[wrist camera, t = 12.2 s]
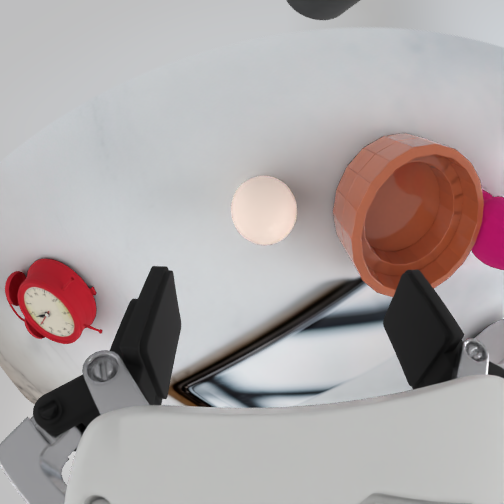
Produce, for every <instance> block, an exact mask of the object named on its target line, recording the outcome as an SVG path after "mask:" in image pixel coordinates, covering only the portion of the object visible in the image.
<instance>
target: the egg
mask: <svg viewBox="0 0 504 504" xmlns="http://www.w3.org/2000/svg"><path fill="white" fill-rule="evenodd" d="M231 215H232V220H233V223H234V225H235V227H236V229H237V230H238V232H239V233H240V234H241V235H242V236H243V237H244V238H245V239H247V240H248V241H250V242H252V243H255V244H257V245H272V244H275V243H278V242H280V241H282V240H283V239H284V238H285V237H286V236H287V235H288V234H289V233H290V232H291V230H292V229H293V227H294V225H295V222H296V218H297V204H296V200H295V197H294V195H293V193H292V192H291V190H290V189H289V187H288V186H287V185H286V184H285V183H284V182H282V181H280V180H279V179H277V178H274V177H271V176H256V177H252V178H250V179H248V180H247V181H245V182H244V183H242V184H241V185H240V186H239V188H238V189H237V190H236V192H235V194H234V196H233V199H232V203H231Z"/></svg>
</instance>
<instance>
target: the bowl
mask: <svg viewBox="0 0 504 504" xmlns="http://www.w3.org/2000/svg"><path fill="white" fill-rule="evenodd" d="M483 207H484V199H483V193H482V187H481V182H480V179H479V177H478V175H477V173H476V171H475V169H474V167H473V165H472V164H471V162H470V161H469V160H468V159H466V158H465V157H464V156H463V155H462V154H461V153H459V152H458V151H457V150H456V149H454V148H451V147H448V146H446V145H443V144H440V143H437V142H435V141H432V140H429V139H426V138H423V137H419V136H415V135H411V134H407V133H401V134H394V135H388V136H384V137H381V138H380V139H378V140H376V141H374V142H373V143H371V144H369V145H367V146H366V147H364V148H363V149H362V150H361V151H360V152H359V153H358V155H357V156H356V157H355V158H354V159H353V160H352V161H351V162H350V164H349V165H348V167H346V170H345V172H344V174H343V176H342V178H341V180H340V182H339V185H338V187H337V189H336V195H335V202H334V208H333V216H334V222H335V228H336V234H337V236H338V238H339V240H340V242H341V243H342V245H343V247H344V249H345V251H346V252H347V254H348V256H349V258H350V259H351V261H352V263H353V264H354V266H355V268H356V270H357V271H358V273H359V275H360V277H361V278H362V280H363V281H364V282H365V283H366V284H367V285H369V286H370V287H371V288H372V289H373V290H375V291H376V292H377V293H380V294H384V295H387V296H391V297H393V296H394V294H395V291H396V288H397V286H398V283H399V281H400V278H401V276H402V274H403V273H405V271H406V270H420V271H421V273H422V274H423V275H424V277H425V278H426V279H427V281H428V282H429V283H430V285H431V286H432V287H433V289H434V288H435V287H437V286H438V285H440V284H441V283H443V282H444V281H446V280H447V279H448V278H450V277H451V275H452V274H453V273H454V272H455V271H456V270H457V269H458V268H459V267H460V266H461V265H462V264H463V262H464V261H465V260H466V258H467V256H468V255H469V253H470V251H471V250H472V248H473V246H474V243H475V242H476V239H477V236H478V233H479V230H480V227H481V224H482V218H483Z"/></svg>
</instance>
